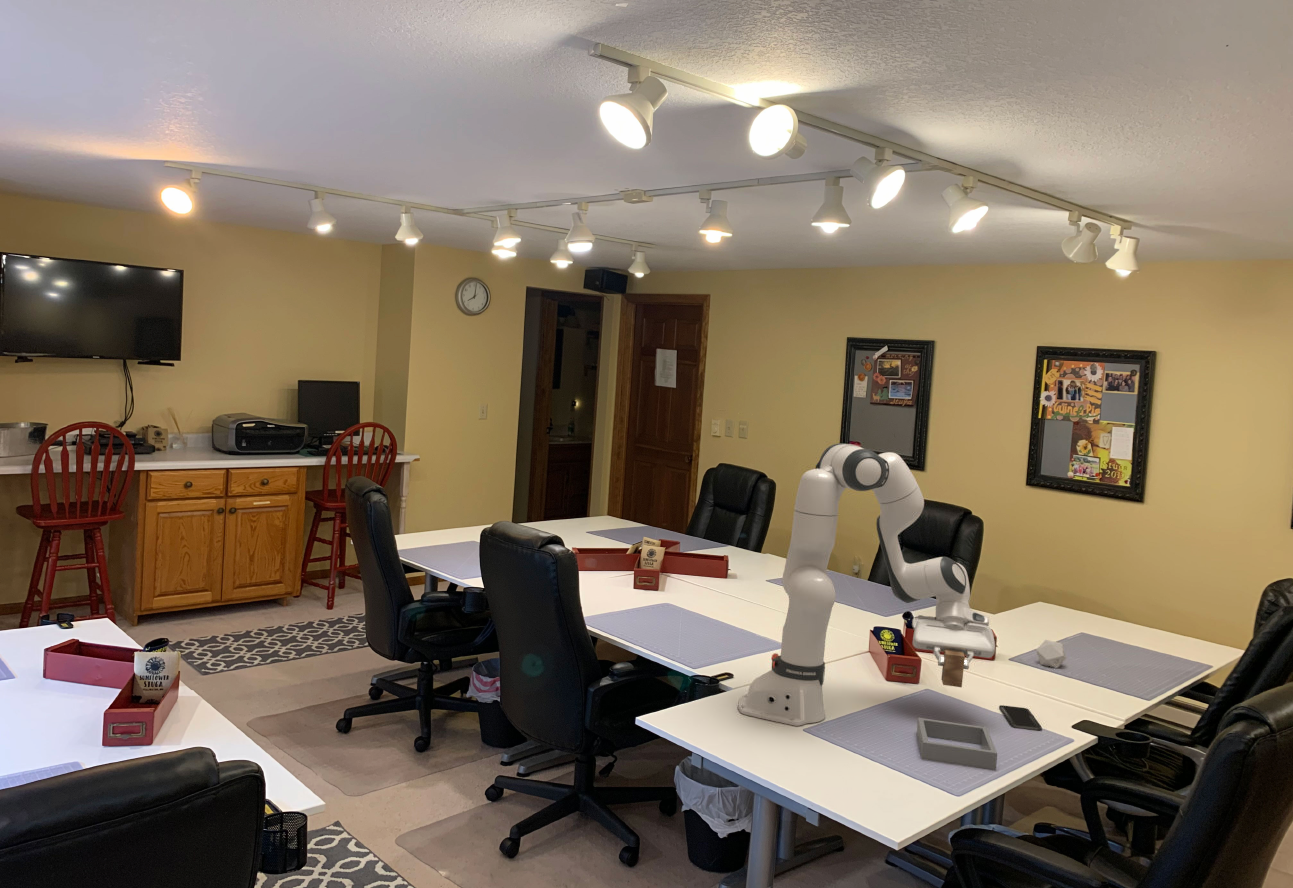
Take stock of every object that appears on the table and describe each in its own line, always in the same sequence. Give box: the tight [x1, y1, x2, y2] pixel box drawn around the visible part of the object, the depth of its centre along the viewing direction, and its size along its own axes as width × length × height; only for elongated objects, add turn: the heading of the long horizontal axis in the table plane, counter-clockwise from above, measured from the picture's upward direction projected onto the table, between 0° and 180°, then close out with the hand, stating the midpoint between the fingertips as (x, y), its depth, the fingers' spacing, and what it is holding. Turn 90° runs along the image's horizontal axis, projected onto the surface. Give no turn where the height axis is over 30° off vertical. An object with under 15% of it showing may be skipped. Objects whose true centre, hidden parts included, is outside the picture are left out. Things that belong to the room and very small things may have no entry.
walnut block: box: [941, 649, 966, 688], centre depth 234 cm, size 4×4×8 cm
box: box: [916, 717, 998, 771], centre depth 220 cm, size 16×16×4 cm
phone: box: [998, 704, 1043, 732], centre depth 245 cm, size 8×1×15 cm
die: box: [1035, 639, 1067, 669], centre depth 296 cm, size 8×9×10 cm
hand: (953, 666), depth 233 cm, fingers closed on walnut block, 4 cm apart
